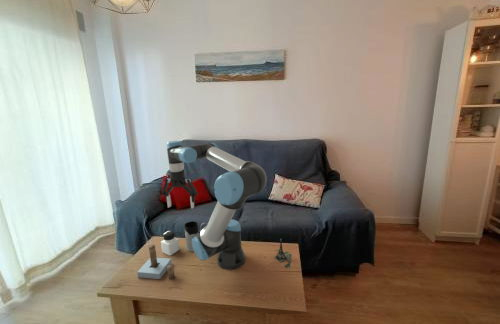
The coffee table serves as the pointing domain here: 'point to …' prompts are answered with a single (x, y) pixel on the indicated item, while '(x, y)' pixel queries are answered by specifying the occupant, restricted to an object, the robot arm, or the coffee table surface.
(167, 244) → the medicine bottle
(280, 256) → the grey-green irregular piece
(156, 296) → the coffee table surface
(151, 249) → the long pin
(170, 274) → the short pin
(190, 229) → the grey black mug
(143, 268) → the collar plate
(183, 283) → the coffee table surface
